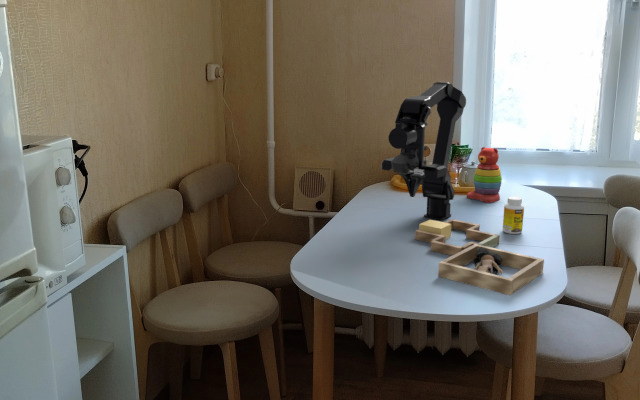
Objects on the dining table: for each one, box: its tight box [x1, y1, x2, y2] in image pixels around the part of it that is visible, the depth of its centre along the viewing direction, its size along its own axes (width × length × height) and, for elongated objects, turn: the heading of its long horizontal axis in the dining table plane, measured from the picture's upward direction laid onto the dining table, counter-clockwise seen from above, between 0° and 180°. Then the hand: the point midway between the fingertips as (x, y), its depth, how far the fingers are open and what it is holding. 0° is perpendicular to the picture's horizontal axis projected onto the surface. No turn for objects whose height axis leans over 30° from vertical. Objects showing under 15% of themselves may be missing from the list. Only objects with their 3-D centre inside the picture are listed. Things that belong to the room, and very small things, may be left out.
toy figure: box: [472, 247, 503, 275], centre depth 164 cm, size 7×6×15 cm
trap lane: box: [414, 219, 500, 256], centre depth 188 cm, size 20×23×2 cm
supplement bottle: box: [502, 196, 525, 235], centre depth 196 cm, size 6×6×10 cm
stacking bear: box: [466, 146, 503, 204], centre depth 233 cm, size 11×10×18 cm
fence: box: [437, 244, 545, 296], centre depth 164 cm, size 18×18×4 cm
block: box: [418, 219, 452, 240], centre depth 193 cm, size 7×6×4 cm
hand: (412, 196), depth 196 cm, fingers closed
